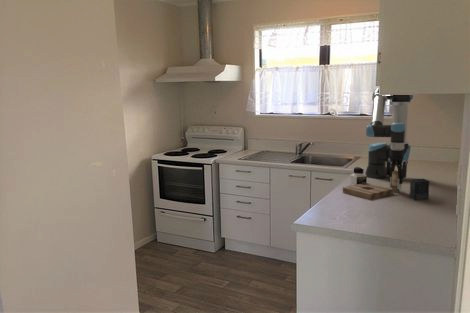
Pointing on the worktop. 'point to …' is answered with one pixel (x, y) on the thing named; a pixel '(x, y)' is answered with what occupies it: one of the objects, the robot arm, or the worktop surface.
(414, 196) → the box
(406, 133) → the robot arm
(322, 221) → the worktop surface
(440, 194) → the worktop surface
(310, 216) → the worktop surface
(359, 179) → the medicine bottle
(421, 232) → the worktop surface
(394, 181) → the peg
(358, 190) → the board
